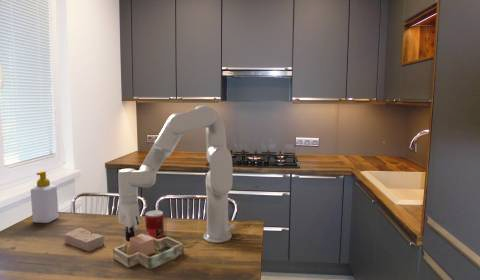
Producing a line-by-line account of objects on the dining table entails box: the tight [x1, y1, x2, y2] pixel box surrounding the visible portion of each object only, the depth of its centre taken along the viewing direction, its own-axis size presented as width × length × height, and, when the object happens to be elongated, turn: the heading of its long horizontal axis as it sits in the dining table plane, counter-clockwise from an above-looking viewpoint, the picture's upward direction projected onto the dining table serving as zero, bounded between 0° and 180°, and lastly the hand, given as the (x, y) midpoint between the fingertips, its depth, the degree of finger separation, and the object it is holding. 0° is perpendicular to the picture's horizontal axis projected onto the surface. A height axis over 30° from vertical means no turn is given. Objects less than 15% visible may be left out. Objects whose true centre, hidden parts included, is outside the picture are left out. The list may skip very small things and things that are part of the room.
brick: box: [63, 227, 105, 252], centre depth 154 cm, size 16×8×5 cm, turn 59°
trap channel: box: [112, 235, 185, 270], centre depth 143 cm, size 22×19×4 cm
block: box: [129, 233, 155, 256], centre depth 146 cm, size 6×8×6 cm
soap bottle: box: [30, 170, 60, 224], centre depth 180 cm, size 9×9×25 cm
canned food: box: [144, 209, 165, 240], centre depth 161 cm, size 8×8×11 cm
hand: (130, 240), depth 151 cm, fingers closed
